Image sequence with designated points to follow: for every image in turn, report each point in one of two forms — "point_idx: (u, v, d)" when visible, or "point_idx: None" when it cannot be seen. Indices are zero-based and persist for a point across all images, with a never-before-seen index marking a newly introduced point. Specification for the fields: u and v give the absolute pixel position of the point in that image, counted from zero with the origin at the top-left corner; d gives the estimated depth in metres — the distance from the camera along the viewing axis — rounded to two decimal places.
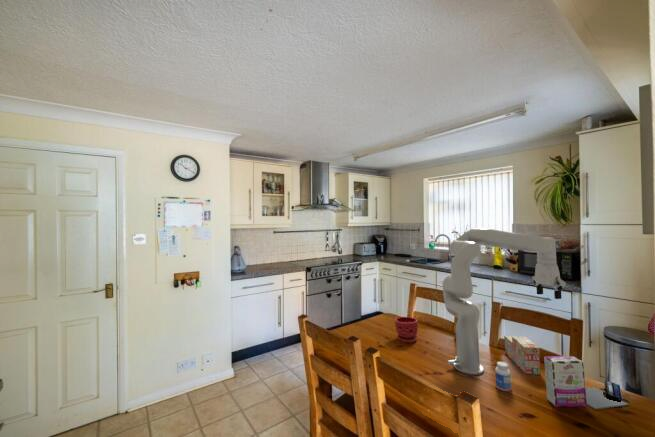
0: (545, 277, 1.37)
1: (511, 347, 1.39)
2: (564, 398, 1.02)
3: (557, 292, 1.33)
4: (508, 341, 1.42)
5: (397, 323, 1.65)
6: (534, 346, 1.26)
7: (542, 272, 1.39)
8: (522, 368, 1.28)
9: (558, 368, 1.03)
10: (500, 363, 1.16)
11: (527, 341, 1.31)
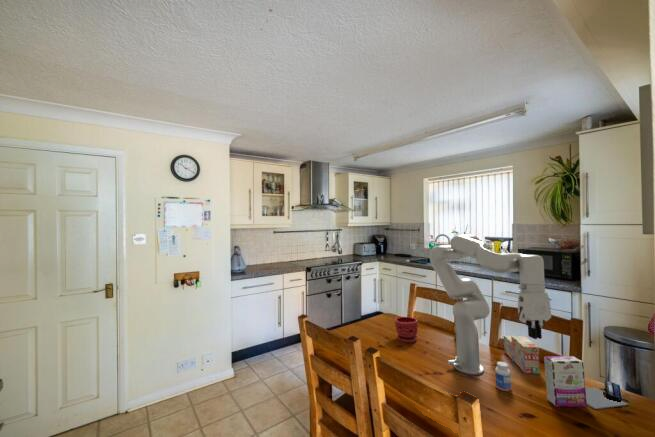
0: (543, 309, 1.02)
1: (510, 347, 1.39)
2: (564, 398, 1.02)
3: None
4: (507, 341, 1.42)
5: (397, 323, 1.65)
6: (533, 346, 1.27)
7: (539, 303, 1.01)
8: (521, 368, 1.28)
9: (558, 368, 1.03)
10: (500, 363, 1.16)
11: (526, 341, 1.31)
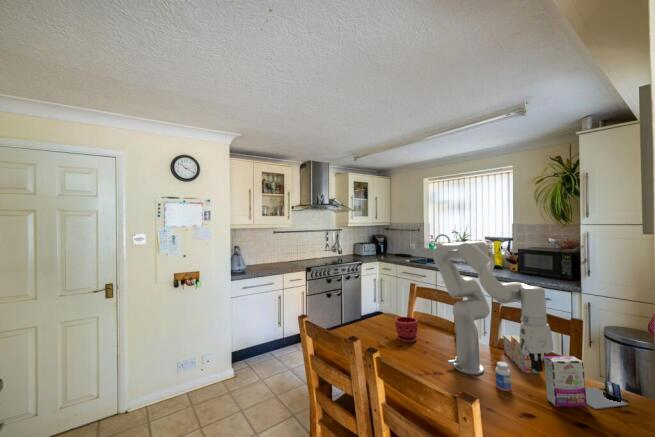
0: (545, 342, 1.01)
1: (510, 346, 1.39)
2: (564, 398, 1.02)
3: None
4: (507, 340, 1.42)
5: (397, 323, 1.65)
6: None
7: (540, 336, 1.01)
8: (521, 367, 1.29)
9: (558, 368, 1.03)
10: (500, 363, 1.16)
11: None
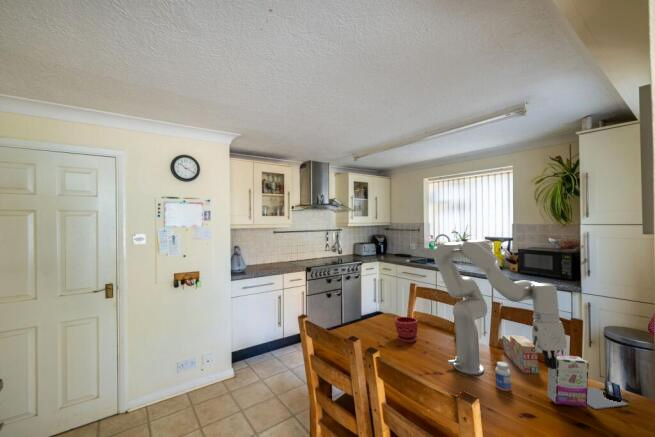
0: (558, 339, 1.01)
1: (509, 346, 1.40)
2: (566, 396, 1.02)
3: None
4: (506, 340, 1.43)
5: (397, 323, 1.65)
6: (532, 345, 1.27)
7: (553, 333, 1.01)
8: (520, 367, 1.29)
9: (562, 366, 1.02)
10: (500, 363, 1.16)
11: (525, 341, 1.32)
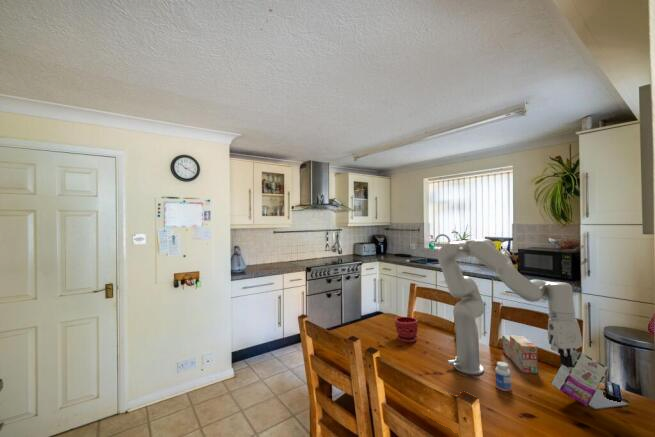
0: (574, 337, 1.02)
1: (509, 346, 1.40)
2: (572, 388, 1.02)
3: None
4: (506, 340, 1.43)
5: (397, 323, 1.65)
6: (532, 345, 1.27)
7: (569, 331, 1.02)
8: (520, 367, 1.29)
9: (582, 361, 1.02)
10: (500, 363, 1.16)
11: (524, 340, 1.32)
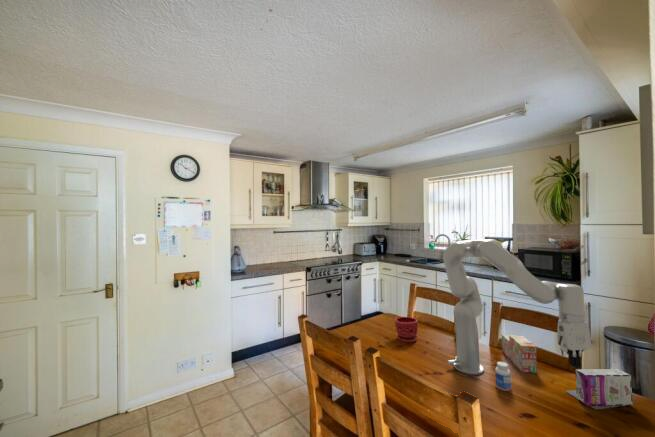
0: (584, 339, 1.03)
1: (508, 346, 1.40)
2: (594, 384, 1.02)
3: None
4: (505, 340, 1.43)
5: (397, 323, 1.65)
6: (531, 345, 1.28)
7: (579, 333, 1.03)
8: (519, 367, 1.29)
9: (624, 380, 1.01)
10: (500, 363, 1.16)
11: (524, 340, 1.32)
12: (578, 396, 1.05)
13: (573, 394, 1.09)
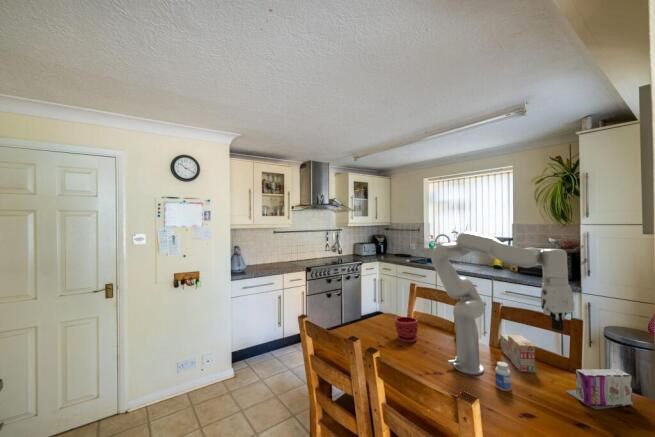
0: (566, 302, 1.04)
1: (507, 345, 1.41)
2: (595, 385, 1.01)
3: None
4: (504, 340, 1.44)
5: (397, 323, 1.65)
6: (529, 344, 1.28)
7: (562, 296, 1.04)
8: (517, 366, 1.30)
9: (624, 380, 1.01)
10: (500, 363, 1.16)
11: (522, 340, 1.33)
12: (578, 396, 1.05)
13: (573, 394, 1.09)
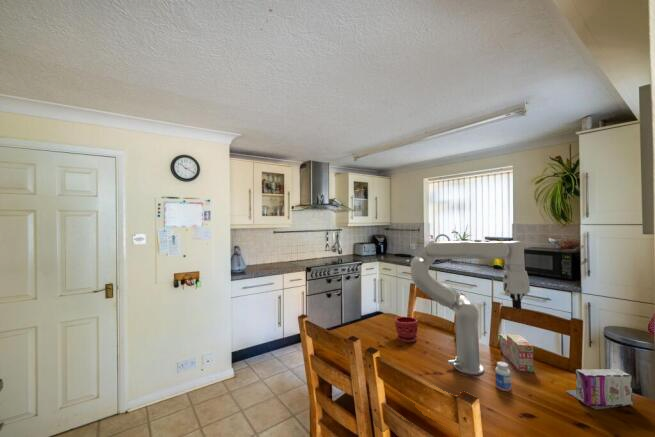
0: (523, 285, 1.25)
1: (506, 345, 1.41)
2: (595, 385, 1.01)
3: None
4: (503, 339, 1.44)
5: (397, 323, 1.65)
6: (528, 344, 1.29)
7: (519, 279, 1.25)
8: (516, 365, 1.30)
9: (624, 380, 1.01)
10: (500, 363, 1.16)
11: (521, 339, 1.33)
12: (578, 396, 1.05)
13: (573, 394, 1.09)
